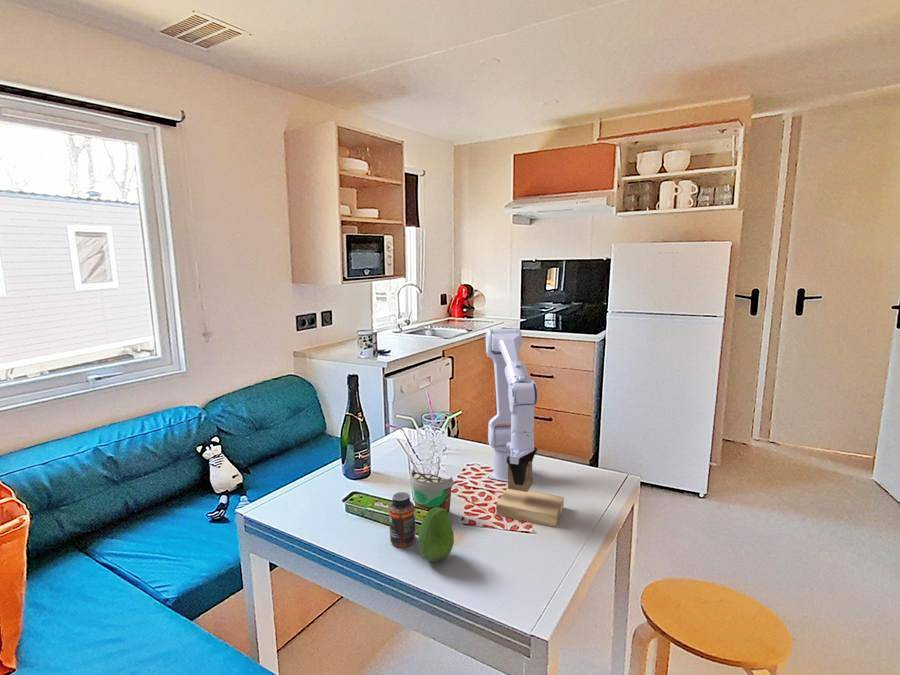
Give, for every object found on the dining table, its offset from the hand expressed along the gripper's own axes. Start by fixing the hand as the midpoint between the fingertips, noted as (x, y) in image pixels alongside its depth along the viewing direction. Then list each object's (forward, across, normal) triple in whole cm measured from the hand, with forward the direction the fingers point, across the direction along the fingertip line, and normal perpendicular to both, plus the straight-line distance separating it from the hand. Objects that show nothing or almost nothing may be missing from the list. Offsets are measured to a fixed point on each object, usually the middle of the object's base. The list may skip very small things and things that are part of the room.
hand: (521, 479), depth 126 cm
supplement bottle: (+9, +24, -22) cm, 33 cm away
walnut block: (+2, 0, 0) cm, 2 cm away
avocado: (+9, +27, -12) cm, 31 cm away
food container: (+9, +11, -22) cm, 26 cm away
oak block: (+8, 0, +2) cm, 9 cm away
